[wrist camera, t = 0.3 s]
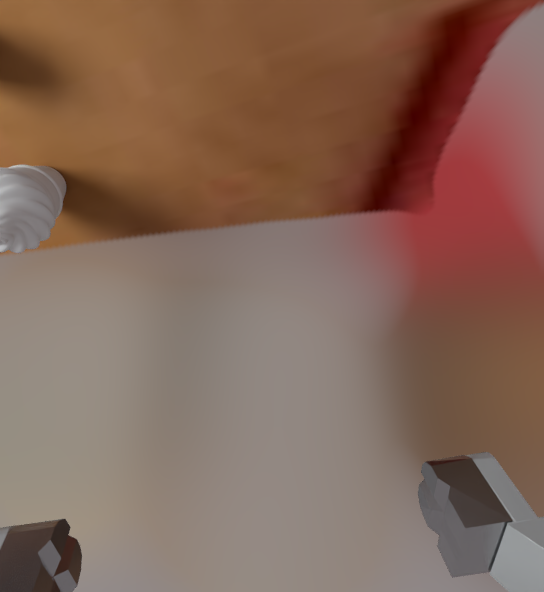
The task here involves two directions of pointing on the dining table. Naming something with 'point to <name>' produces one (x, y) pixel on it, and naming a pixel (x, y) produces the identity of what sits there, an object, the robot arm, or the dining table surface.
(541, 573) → the robot arm
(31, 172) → the soft serve ice cream cone
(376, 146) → the dining table surface
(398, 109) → the dining table surface
